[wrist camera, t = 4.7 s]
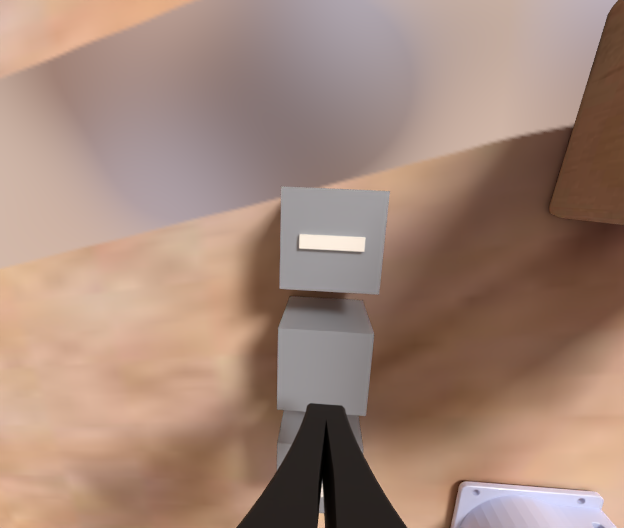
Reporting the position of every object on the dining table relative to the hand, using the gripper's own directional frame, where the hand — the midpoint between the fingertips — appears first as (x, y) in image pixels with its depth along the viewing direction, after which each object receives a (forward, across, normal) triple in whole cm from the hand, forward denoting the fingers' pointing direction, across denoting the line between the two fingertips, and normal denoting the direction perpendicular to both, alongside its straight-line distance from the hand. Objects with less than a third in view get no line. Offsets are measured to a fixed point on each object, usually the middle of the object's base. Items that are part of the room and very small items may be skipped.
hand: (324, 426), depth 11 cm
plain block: (+8, 0, 0) cm, 8 cm away
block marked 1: (+8, 0, -7) cm, 10 cm away
